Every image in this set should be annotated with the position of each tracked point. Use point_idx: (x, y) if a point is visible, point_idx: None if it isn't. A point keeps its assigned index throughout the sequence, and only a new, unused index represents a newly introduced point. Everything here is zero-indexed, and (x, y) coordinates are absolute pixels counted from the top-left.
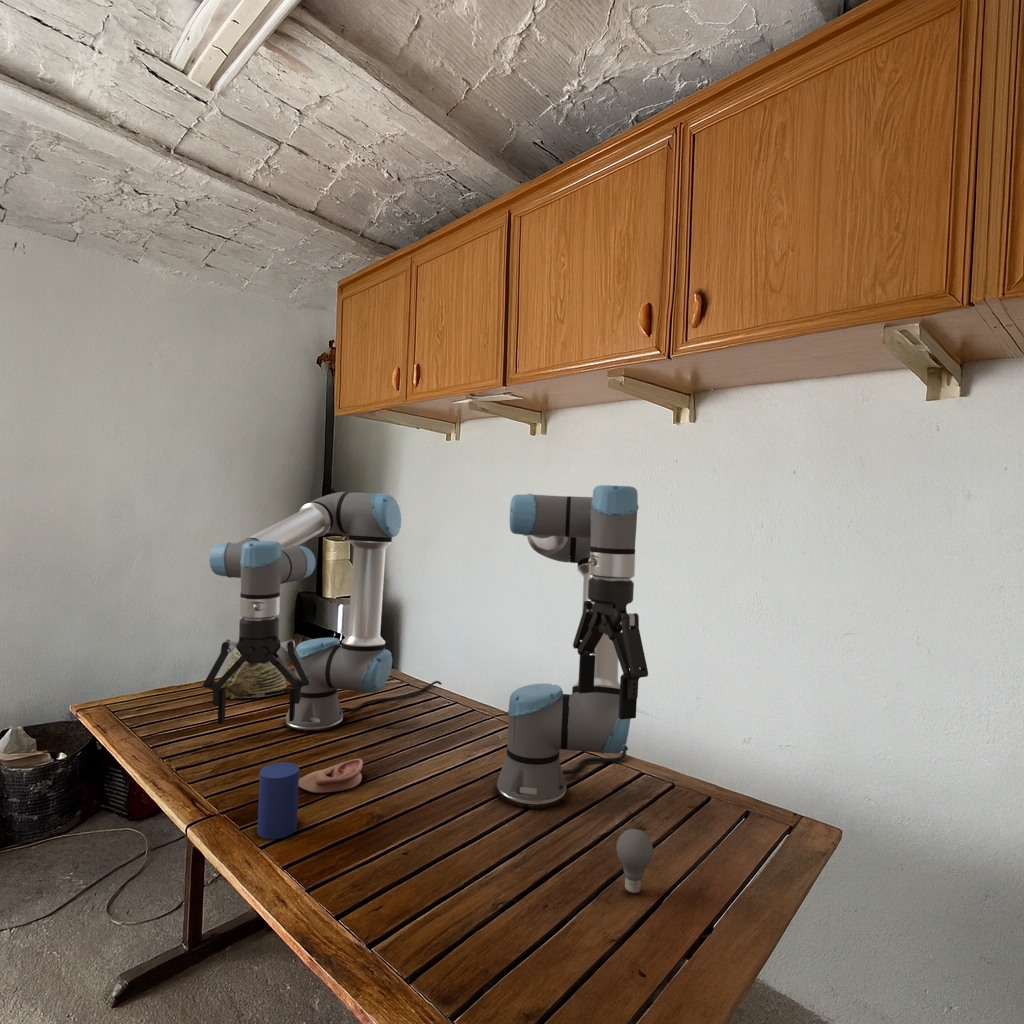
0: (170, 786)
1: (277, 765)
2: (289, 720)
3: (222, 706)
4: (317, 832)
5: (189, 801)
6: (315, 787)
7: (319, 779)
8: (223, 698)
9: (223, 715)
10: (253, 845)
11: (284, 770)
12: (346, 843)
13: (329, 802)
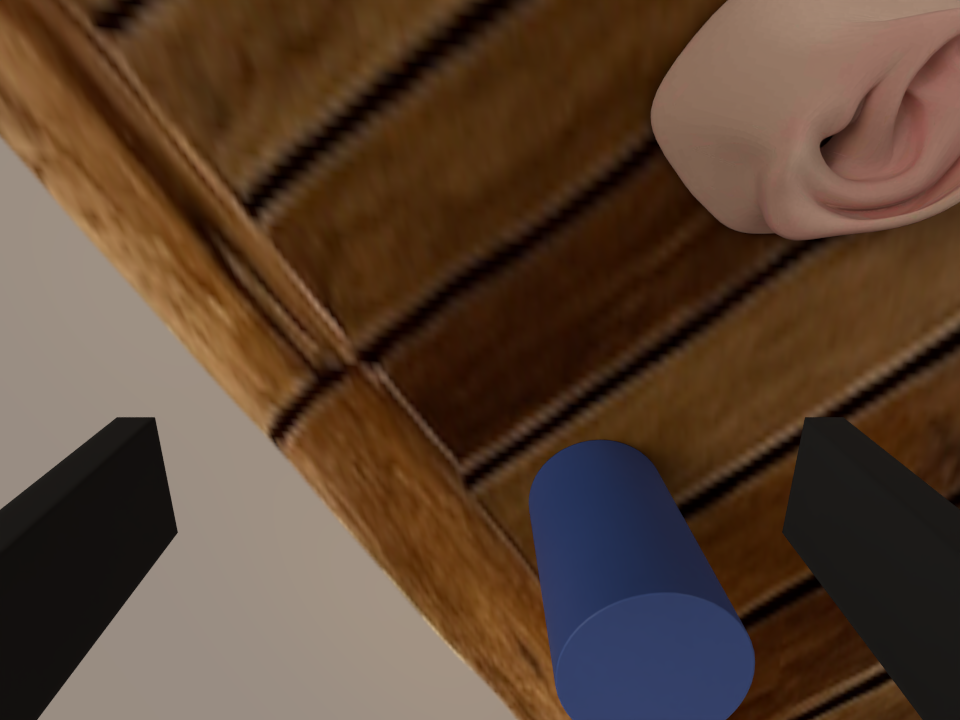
0: (24, 58)
1: (640, 628)
2: (788, 535)
3: (78, 648)
4: (732, 530)
5: (192, 240)
6: (749, 217)
7: (785, 225)
8: (4, 683)
9: (137, 513)
10: (529, 579)
11: (680, 682)
12: (820, 599)
13: (793, 318)
